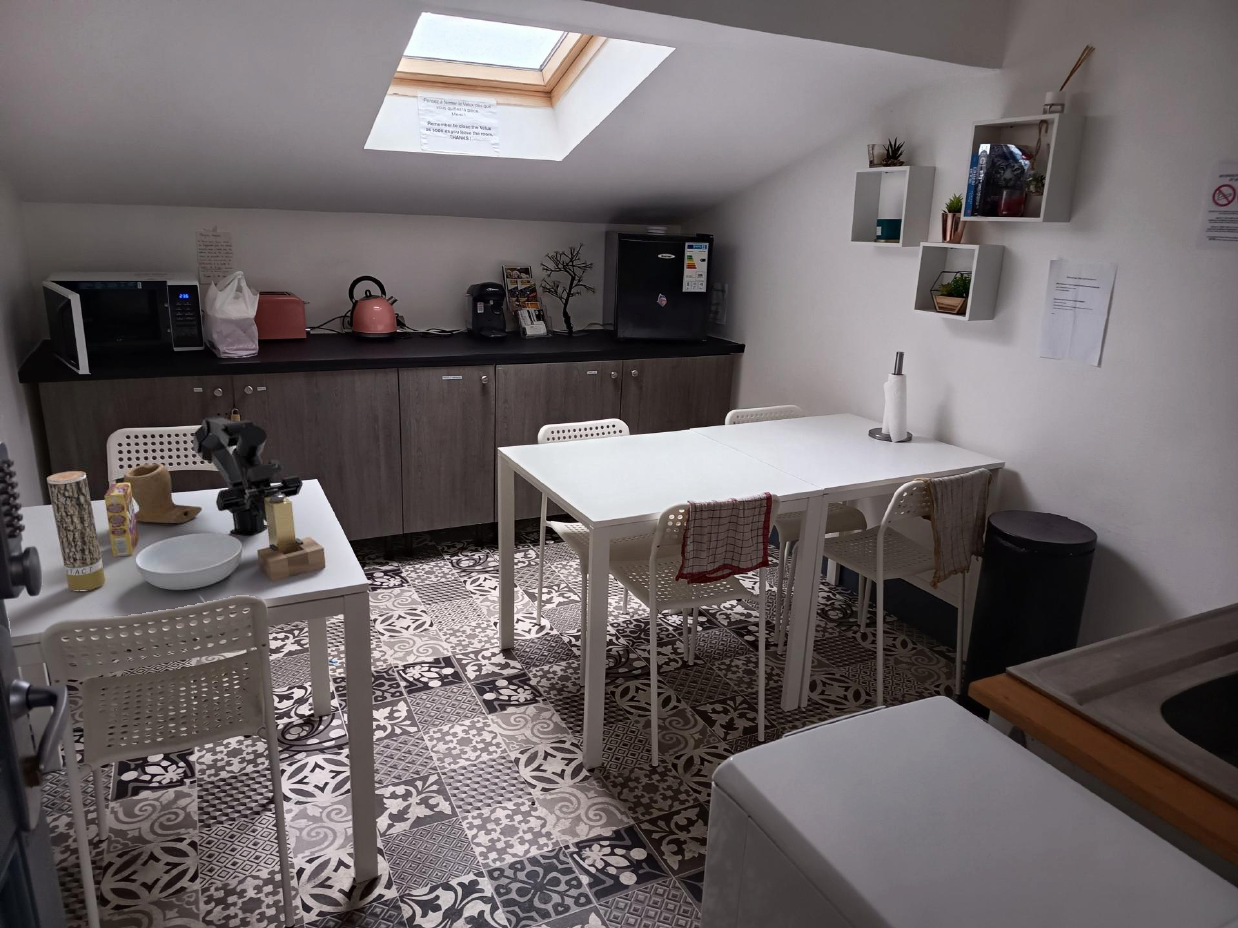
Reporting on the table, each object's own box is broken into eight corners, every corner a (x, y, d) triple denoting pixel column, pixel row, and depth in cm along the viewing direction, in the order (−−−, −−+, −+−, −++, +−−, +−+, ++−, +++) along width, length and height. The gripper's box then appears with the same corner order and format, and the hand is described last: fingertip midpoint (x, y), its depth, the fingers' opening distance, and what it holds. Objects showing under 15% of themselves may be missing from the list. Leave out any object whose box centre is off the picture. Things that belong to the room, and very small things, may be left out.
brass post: (271, 558, 195) (263, 494, 190) (288, 554, 198) (281, 490, 193) (280, 567, 191) (273, 501, 186) (298, 562, 193) (291, 497, 188)
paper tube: (79, 579, 184) (58, 471, 176) (111, 578, 184) (92, 471, 176) (62, 593, 177) (39, 481, 169) (96, 592, 178) (74, 481, 170)
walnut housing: (259, 570, 190) (256, 547, 188) (311, 556, 197) (309, 535, 196) (272, 582, 184) (269, 559, 182) (325, 568, 192) (323, 545, 190)
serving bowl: (135, 608, 172) (130, 578, 170) (145, 568, 190) (140, 540, 188) (246, 592, 180) (242, 562, 178) (245, 554, 198) (241, 527, 196)
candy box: (134, 555, 196) (123, 494, 191) (113, 557, 195) (101, 495, 190) (140, 540, 204) (130, 481, 199) (120, 543, 202) (109, 483, 198)
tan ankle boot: (120, 526, 212) (110, 470, 208) (153, 510, 223) (145, 456, 219) (172, 532, 209) (163, 475, 205) (204, 515, 220) (196, 461, 216)
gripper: (213, 457, 189) (235, 517, 184) (295, 443, 201) (318, 499, 196) (207, 481, 197) (228, 539, 192) (287, 466, 209) (308, 520, 204)
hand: (271, 523), depth 196 cm, fingers closed
